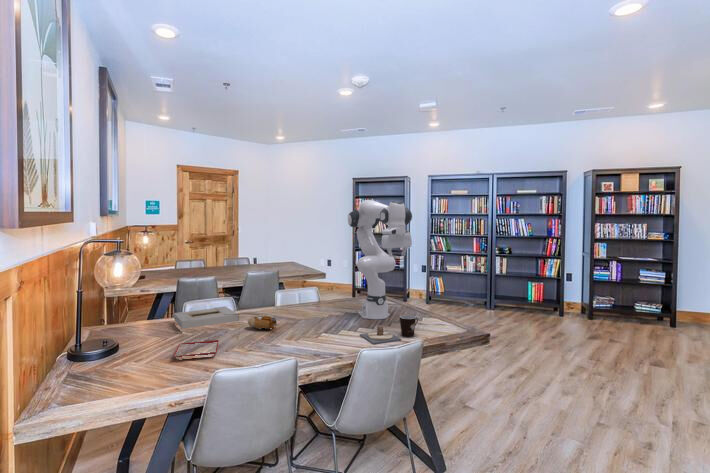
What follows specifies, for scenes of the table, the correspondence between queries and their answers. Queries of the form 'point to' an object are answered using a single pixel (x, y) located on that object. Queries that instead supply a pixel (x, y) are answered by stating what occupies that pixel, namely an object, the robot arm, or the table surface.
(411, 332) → the coffee mug
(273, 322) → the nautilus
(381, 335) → the lid
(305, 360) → the table surface
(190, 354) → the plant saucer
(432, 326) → the table surface
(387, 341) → the mat
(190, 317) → the box
